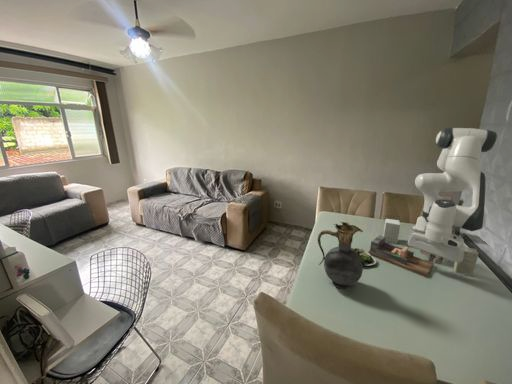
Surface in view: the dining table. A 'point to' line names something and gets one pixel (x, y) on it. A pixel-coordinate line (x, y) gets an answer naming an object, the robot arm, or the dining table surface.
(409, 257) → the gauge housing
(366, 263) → the salad plate
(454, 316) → the dining table surface
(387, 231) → the supplement box
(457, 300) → the dining table surface
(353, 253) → the pitcher
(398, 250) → the block
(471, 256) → the skincare box
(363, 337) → the dining table surface
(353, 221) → the dining table surface
